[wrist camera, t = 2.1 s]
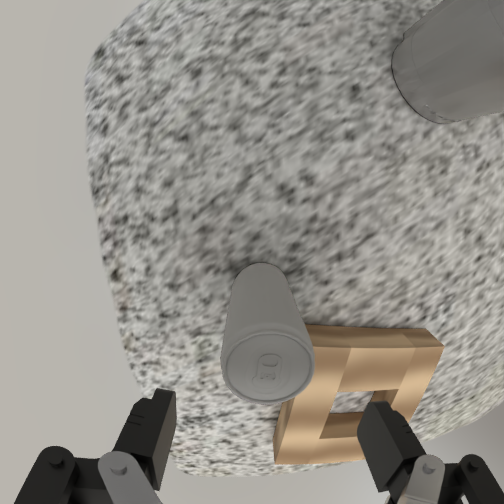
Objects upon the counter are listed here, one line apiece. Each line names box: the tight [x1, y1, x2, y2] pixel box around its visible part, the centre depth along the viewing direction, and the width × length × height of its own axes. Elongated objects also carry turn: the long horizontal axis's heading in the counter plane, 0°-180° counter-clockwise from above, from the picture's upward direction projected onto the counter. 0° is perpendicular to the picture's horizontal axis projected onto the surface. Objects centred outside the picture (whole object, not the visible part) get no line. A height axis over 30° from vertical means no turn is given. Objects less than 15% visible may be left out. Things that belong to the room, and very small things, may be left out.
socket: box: [273, 324, 445, 464], centre depth 26 cm, size 16×14×4 cm
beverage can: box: [220, 263, 315, 405], centre depth 19 cm, size 5×5×12 cm
